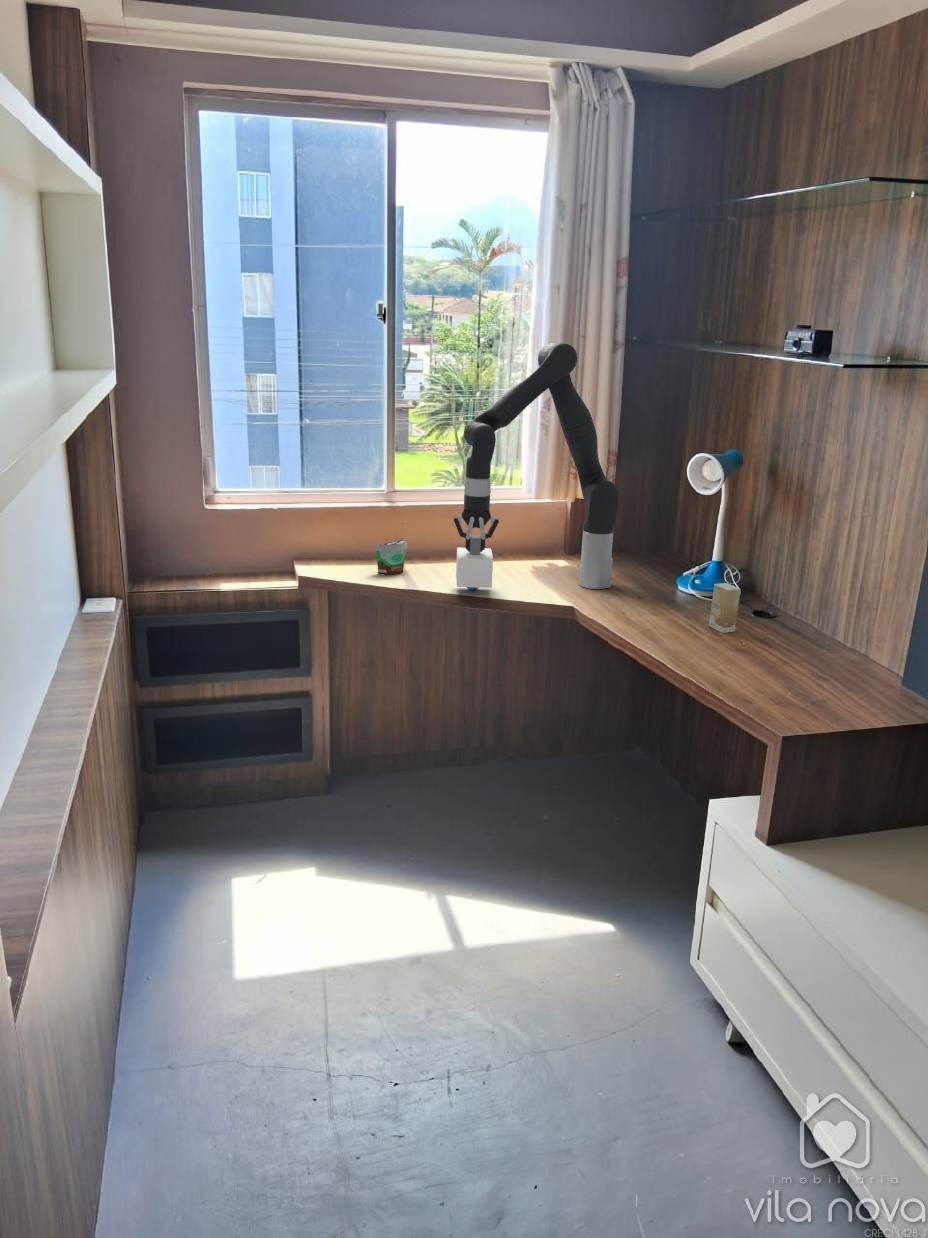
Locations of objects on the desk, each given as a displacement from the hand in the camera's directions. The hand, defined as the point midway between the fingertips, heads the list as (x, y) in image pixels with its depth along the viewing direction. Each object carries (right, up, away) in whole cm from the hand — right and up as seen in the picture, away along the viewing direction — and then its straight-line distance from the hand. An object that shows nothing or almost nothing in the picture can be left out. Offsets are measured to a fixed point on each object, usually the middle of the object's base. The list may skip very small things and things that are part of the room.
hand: (474, 550), depth 278 cm
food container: (-25, -6, +23) cm, 34 cm away
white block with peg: (0, -9, +4) cm, 10 cm away
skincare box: (+67, -23, -22) cm, 74 cm away
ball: (0, -9, +6) cm, 11 cm away
